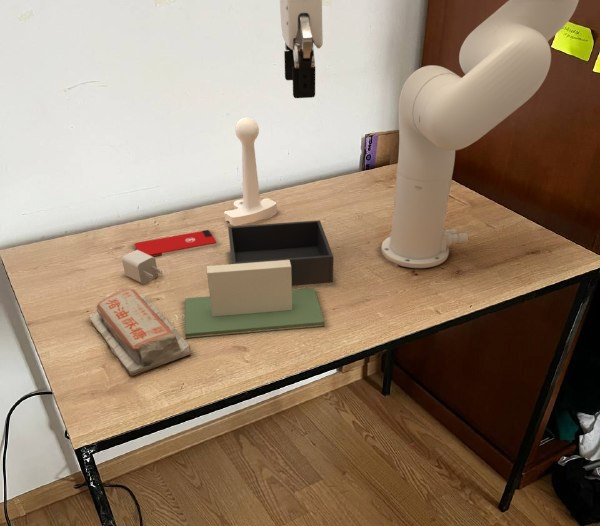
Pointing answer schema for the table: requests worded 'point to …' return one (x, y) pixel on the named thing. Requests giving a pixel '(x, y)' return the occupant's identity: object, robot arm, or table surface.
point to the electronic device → (175, 243)
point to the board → (250, 287)
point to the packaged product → (137, 332)
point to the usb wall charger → (140, 266)
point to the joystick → (249, 180)
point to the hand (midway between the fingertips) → (299, 88)
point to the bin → (286, 248)
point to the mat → (252, 317)
